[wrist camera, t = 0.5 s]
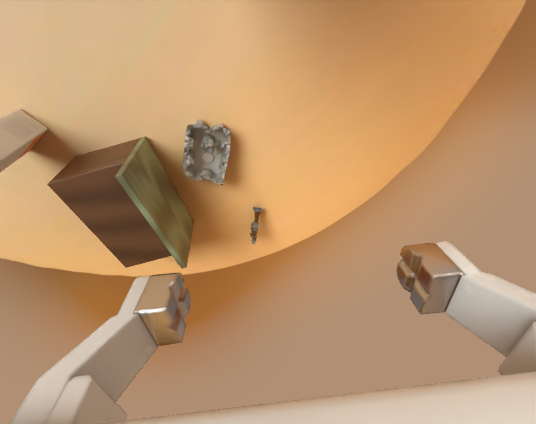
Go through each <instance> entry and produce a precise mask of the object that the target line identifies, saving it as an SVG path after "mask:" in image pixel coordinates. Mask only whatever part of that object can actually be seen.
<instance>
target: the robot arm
mask: <svg viewBox="0 0 536 424" xmlns="http://www.w3.org/2000/svg"><path fill="white" fill-rule="evenodd" d="M400 255H401V256H402V258H403V259H402V260H401V261H400V262H399V263H398V266H397V276H398V279H399V281H400V284H401V285H402V287H403V288H404V289H405V290H407V291H409V292H410V293H411V296H410V299H411V301H412V302H413V304H414V305H415V307H416V308H417V310H418V311H419V313H420V314H430V313H441V312H445V314H447V315H448V316H449V317H451V318H452V319H454V320H455V321H456V322H458V323H459V324H461V325H462V326H463V327H465V328H466V329H468V330H469V331H470V332H472V333H473V334H475V335H476V336H477V337H479V338H480V339H482V340H483V341H484V342H486V343H487V344H489V345H490V346H492V347H493V348H494V349H496V350H497V351H499V352H500V353H501V354H503V355H504V356H506V359H505V360H504V361H503V363H502V364H501V365H500V366H499V370H498V371H499V373H500V374H501V376H494V377H486V378H477V379H469V380H461V381H452V382H444V383H436V384H427V385H419V386H410V387H402V388H393V389H385V390H377V391H369V392H360V393H351V394H343V395H335V396H327V397H318V398H310V399H301V400H293V401H284V402H276V403H269V404H259V405H251V406H243V407H235V408H226V409H218V410H209V411H201V412H193V413H185V414H176V415H168V416H159V417H151V418H143V419H134V420H126V418H127V414H126V412H125V411H124V410H123V409H122V408H121V407H120V406H119V405H118V404H117V403H116V401H117V400H118V398H119V397H120V396H121V395H122V393H123V392H124V391H125V389H126V388H127V387H128V386H129V384H130V383H131V382H132V380H133V379H134V378H135V377H136V375H137V374H138V373H139V371H140V370H141V369H142V367H143V366H144V365H145V364H146V362H147V361H148V360H149V358H150V357H151V356H152V354H153V353H154V352H155V351H156V349H157V348H158V347H157V346H161V345H169V344H176V343H182V341H183V336H184V332H185V328H186V323H185V321H184V318H185V317H186V316H187V315H188V314H189V310H190V295H189V291H188V288H186V287H185V286H184V285H183V282H184V278H183V276H182V273H169V274H159V275H152V276H140V277H137V278H136V279H135V281H134V282H133V284H132V286H131V289H130V290H129V292H128V295H127V297H126V299H125V301H124V303H123V305H122V307H121V309H120V311H119V313H118V315H117V316H112V317H111V318H110V319H109V320H108V321H106V322H105V323H104V324H103V325H102V326H101V327H99V328H98V329H97V330H96V331H95V332H93V333H92V334H91V335H90V336H89V337H88V338H86V339H85V340H84V341H83V342H82V343H80V344H79V345H78V346H77V347H76V348H75V349H73V350H72V351H71V352H70V353H69V354H67V355H66V356H65V357H64V358H63V359H61V360H60V361H59V362H58V363H57V364H55V365H54V366H53V367H52V368H51V369H50V370H48V371H47V372H46V373H45V374H44V375H42V376H41V377H40V378H39V379H38V380H37V381H36V383H35V384H34V386H33V388H32V389H31V391H30V392H29V394H28V396H27V397H26V399H25V400H24V402H23V403H22V405H21V407H20V408H19V410H18V411H17V413H16V414H15V416H14V417H13V419H12V421H11V422H10V424H536V294H535V293H533V292H531V291H528V290H526V289H524V288H522V287H519V286H517V285H515V284H512V283H510V282H508V281H506V280H503V279H501V278H499V277H496V276H494V275H492V274H489V273H487V272H486V273H482V272H481V271H480V270H479V269H478V268H477V267H476V266H475V265H474V264H472V263H471V262H470V261H469V260H468V259H467V258H466V257H465V256H464V255H463V254H462V253H461V252H460V251H459V250H458V249H457V248H455V246H453V245H452V244H451V243H450V242H448V241H440V242H433V243H425V244H417V245H409V246H404V247H403V248H402V250H401V253H400Z"/></svg>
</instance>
